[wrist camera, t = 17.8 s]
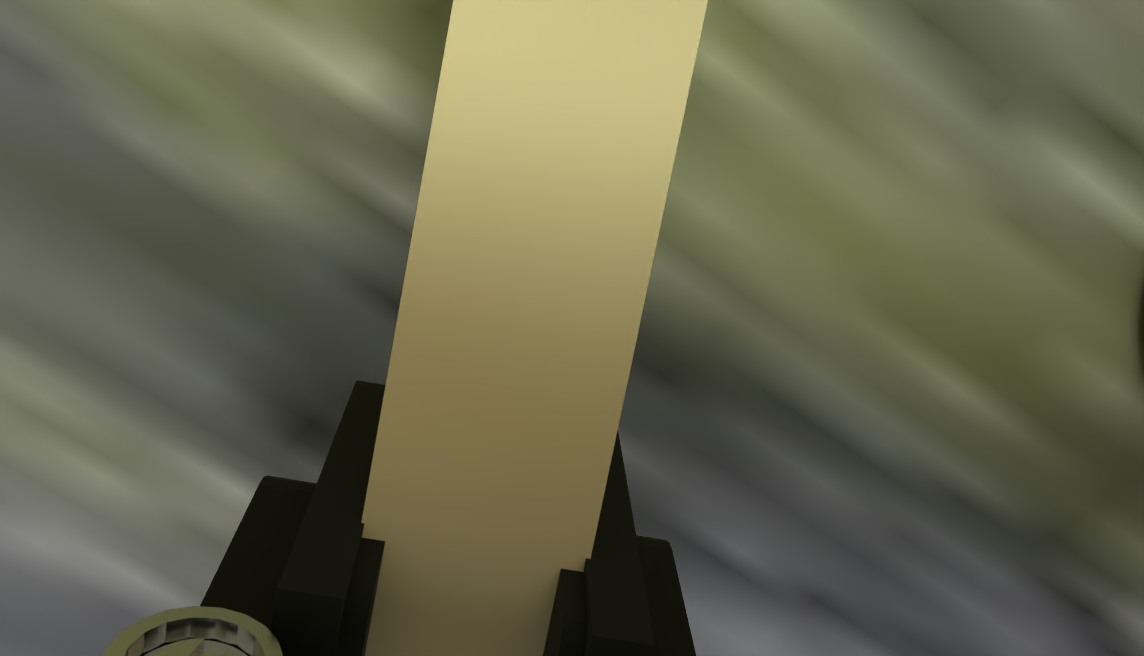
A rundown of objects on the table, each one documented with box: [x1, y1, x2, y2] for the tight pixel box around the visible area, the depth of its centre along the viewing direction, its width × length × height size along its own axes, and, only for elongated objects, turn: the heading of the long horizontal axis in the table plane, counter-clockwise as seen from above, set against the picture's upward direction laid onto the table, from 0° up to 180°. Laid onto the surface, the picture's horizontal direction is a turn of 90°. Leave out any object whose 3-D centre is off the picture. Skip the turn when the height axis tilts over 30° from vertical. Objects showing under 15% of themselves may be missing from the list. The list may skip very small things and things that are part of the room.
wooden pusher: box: [361, 0, 708, 656], centre depth 10 cm, size 31×9×4 cm, turn 168°
